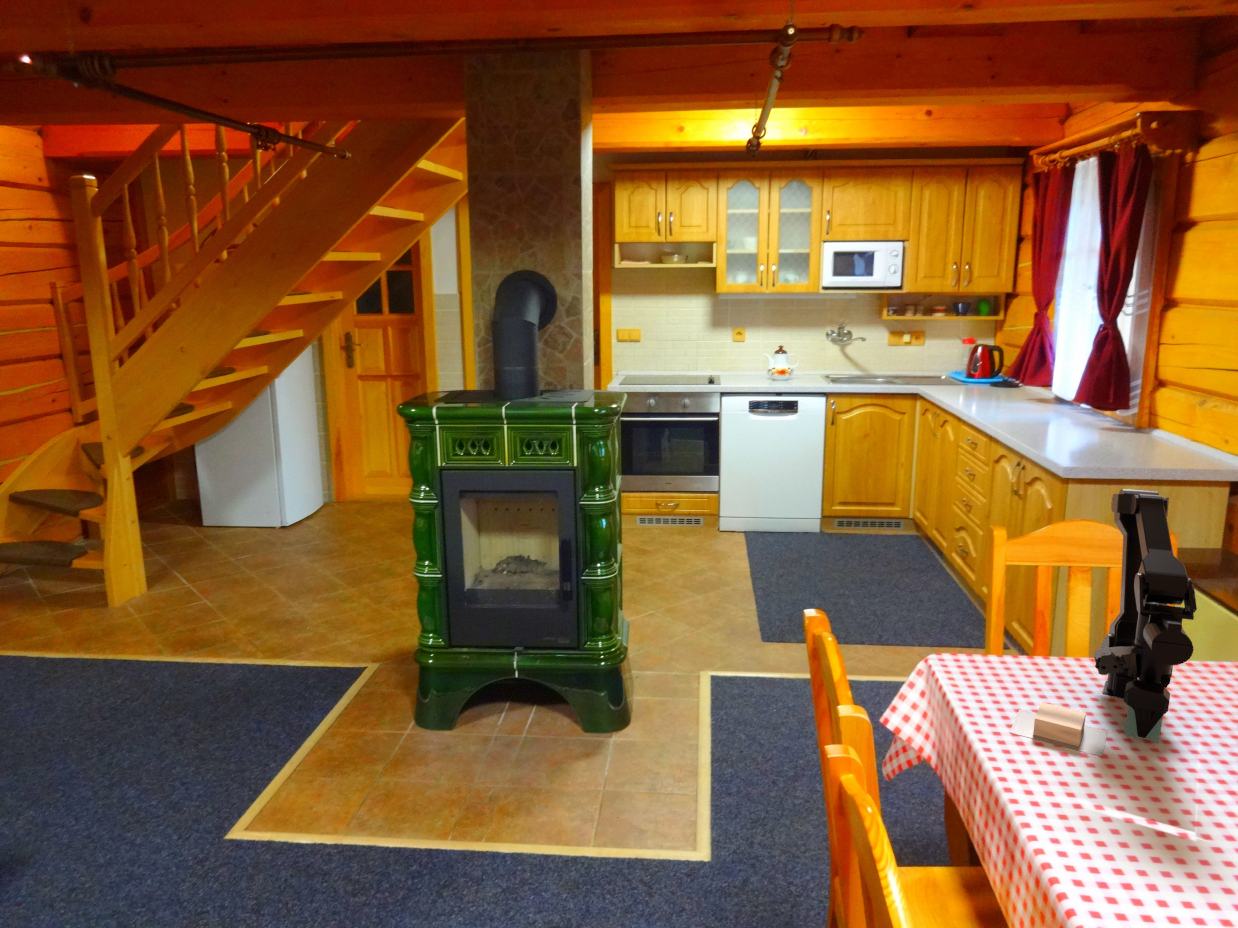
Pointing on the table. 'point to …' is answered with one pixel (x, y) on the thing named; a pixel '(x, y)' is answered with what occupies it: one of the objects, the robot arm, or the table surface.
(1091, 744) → the baseplate
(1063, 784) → the table surface
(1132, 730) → the teal block
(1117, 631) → the robot arm
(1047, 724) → the maple base block
